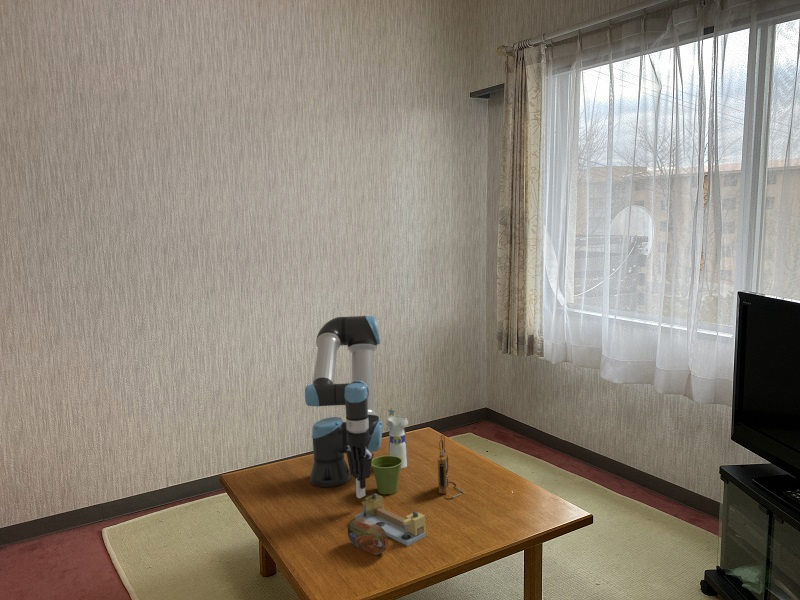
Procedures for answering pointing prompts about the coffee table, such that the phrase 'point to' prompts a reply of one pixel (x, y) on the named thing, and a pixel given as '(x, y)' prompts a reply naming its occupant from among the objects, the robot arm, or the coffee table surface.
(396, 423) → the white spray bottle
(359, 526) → the tin
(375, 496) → the slider
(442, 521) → the coffee table surface
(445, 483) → the multimeter
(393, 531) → the linear rail with blocks
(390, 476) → the plant pot
